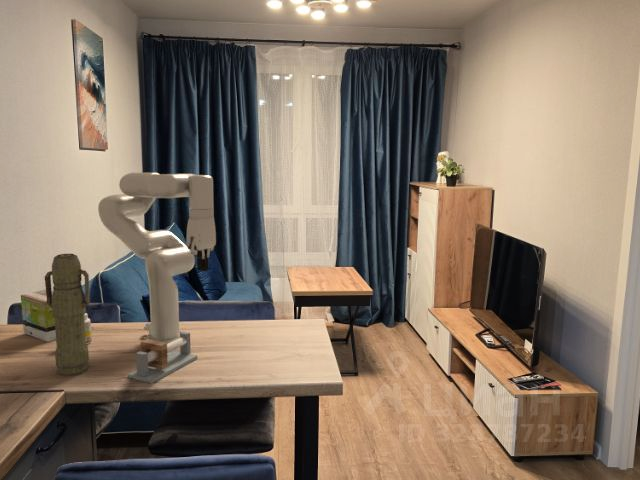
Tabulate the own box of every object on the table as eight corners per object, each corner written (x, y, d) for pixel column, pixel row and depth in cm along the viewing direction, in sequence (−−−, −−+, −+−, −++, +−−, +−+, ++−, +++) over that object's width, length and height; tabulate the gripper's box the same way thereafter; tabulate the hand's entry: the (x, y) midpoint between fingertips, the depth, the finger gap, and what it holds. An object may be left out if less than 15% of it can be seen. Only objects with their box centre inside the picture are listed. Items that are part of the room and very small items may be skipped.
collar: (141, 364, 156) (141, 341, 155) (147, 362, 158) (146, 339, 157) (162, 369, 153) (161, 345, 152) (167, 366, 155) (166, 343, 154)
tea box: (22, 334, 187) (19, 294, 185) (49, 327, 196) (46, 288, 193) (47, 342, 179) (44, 300, 177) (74, 334, 188) (71, 294, 186)
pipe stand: (127, 377, 152) (126, 351, 151) (176, 353, 171) (175, 330, 170) (152, 383, 148) (151, 357, 147) (198, 357, 168) (198, 334, 166)
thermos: (55, 365, 160) (47, 252, 154) (96, 363, 162) (90, 251, 157) (46, 377, 151) (38, 258, 146) (90, 374, 154) (83, 257, 148)
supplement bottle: (74, 341, 181) (72, 312, 179) (91, 339, 183) (90, 311, 181) (73, 346, 176) (71, 317, 174) (91, 344, 178) (89, 315, 176)
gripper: (206, 211, 176) (207, 265, 179) (176, 215, 162) (178, 273, 165) (224, 212, 173) (225, 267, 176) (196, 217, 159) (198, 276, 162)
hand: (202, 270), depth 170 cm, fingers closed
